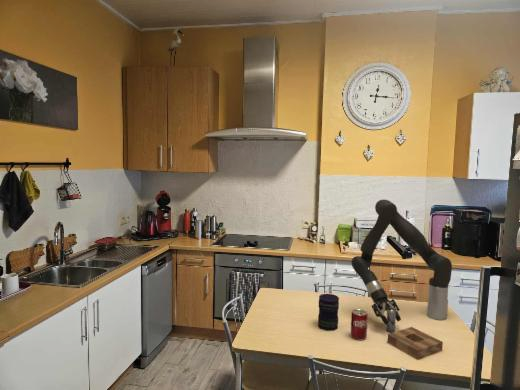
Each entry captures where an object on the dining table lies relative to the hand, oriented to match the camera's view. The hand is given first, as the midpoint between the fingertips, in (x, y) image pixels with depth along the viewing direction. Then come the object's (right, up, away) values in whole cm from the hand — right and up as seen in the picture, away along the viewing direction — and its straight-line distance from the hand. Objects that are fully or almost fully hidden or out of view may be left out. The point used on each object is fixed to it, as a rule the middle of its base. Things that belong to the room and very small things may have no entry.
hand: (393, 322), depth 173 cm
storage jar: (-30, -4, +6) cm, 31 cm away
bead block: (+5, -6, -12) cm, 15 cm away
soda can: (-18, -5, -4) cm, 19 cm away
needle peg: (-1, -5, +2) cm, 5 cm away
